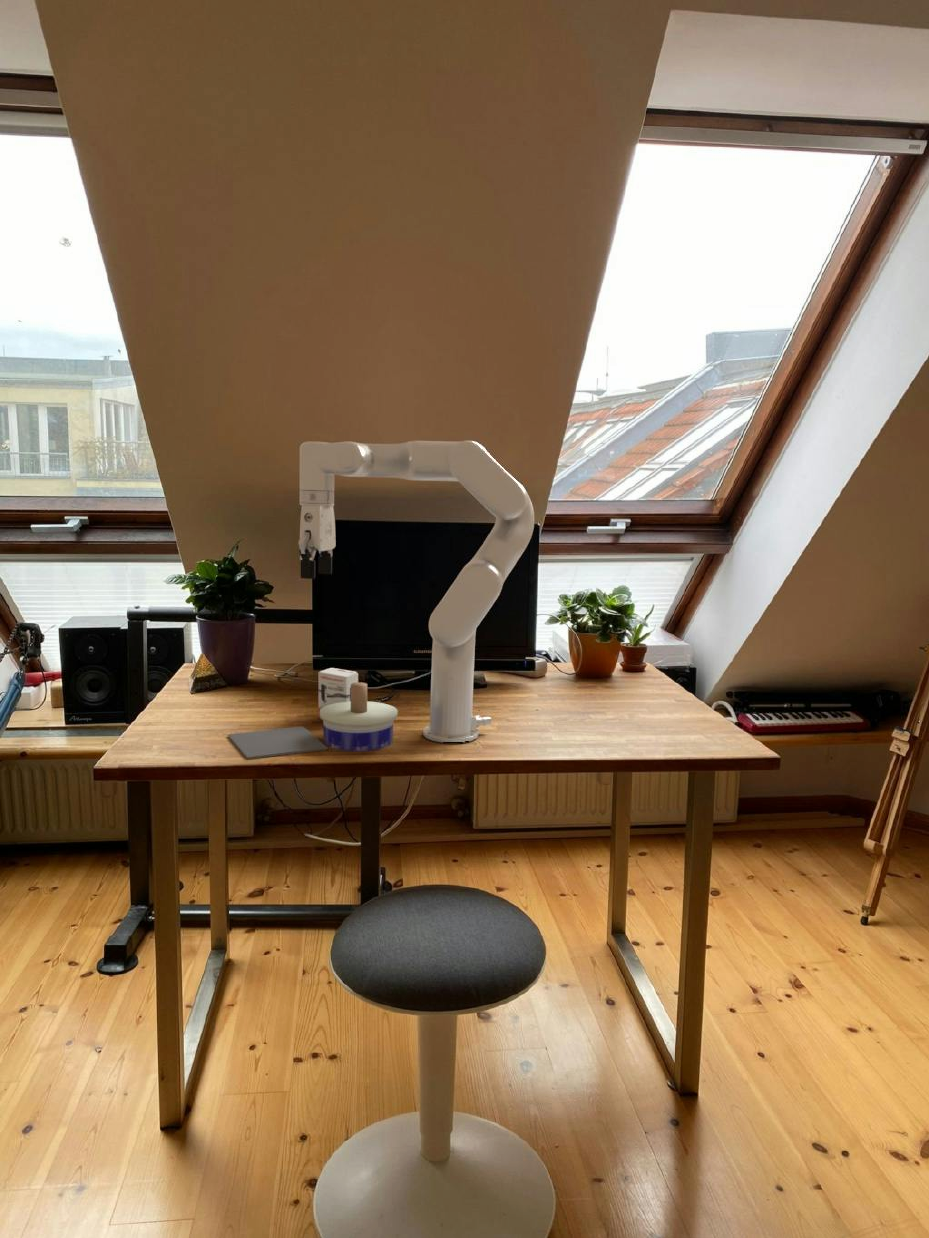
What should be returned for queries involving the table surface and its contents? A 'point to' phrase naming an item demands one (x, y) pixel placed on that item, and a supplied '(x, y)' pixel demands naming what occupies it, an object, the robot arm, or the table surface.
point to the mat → (276, 742)
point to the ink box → (335, 686)
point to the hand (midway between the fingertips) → (316, 576)
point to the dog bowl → (358, 736)
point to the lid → (358, 710)
